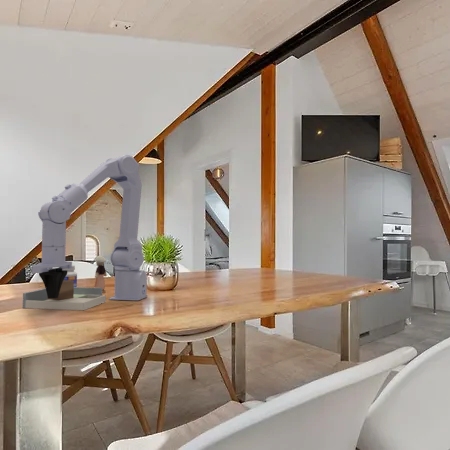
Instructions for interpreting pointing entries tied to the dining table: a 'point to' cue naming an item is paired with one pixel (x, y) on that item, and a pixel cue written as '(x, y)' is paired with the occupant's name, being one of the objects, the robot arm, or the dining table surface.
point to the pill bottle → (71, 275)
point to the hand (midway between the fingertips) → (53, 298)
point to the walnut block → (65, 290)
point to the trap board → (80, 300)
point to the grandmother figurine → (100, 273)
